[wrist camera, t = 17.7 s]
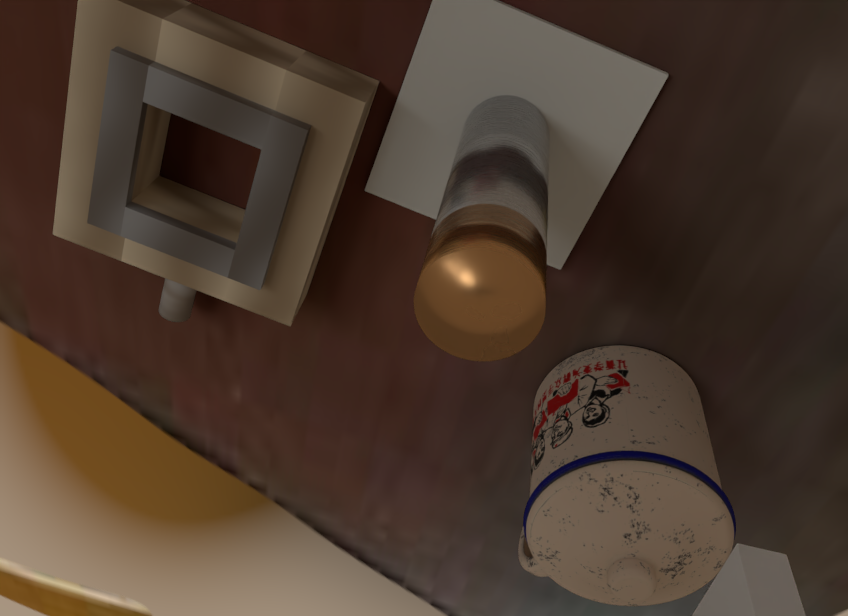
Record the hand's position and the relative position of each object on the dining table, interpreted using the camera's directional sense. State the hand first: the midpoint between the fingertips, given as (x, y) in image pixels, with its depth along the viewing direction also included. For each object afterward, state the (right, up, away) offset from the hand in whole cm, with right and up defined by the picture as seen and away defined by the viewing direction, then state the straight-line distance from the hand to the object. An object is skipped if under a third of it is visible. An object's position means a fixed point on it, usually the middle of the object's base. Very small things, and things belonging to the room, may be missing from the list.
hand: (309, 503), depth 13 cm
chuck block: (-8, +9, +25) cm, 28 cm away
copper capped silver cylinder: (+5, +11, +22) cm, 25 cm away
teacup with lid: (+11, -3, +30) cm, 32 cm away
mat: (+5, +11, +22) cm, 25 cm away
